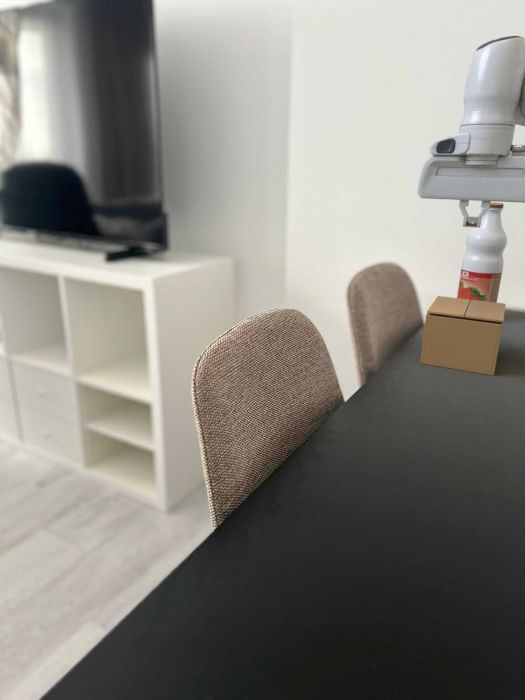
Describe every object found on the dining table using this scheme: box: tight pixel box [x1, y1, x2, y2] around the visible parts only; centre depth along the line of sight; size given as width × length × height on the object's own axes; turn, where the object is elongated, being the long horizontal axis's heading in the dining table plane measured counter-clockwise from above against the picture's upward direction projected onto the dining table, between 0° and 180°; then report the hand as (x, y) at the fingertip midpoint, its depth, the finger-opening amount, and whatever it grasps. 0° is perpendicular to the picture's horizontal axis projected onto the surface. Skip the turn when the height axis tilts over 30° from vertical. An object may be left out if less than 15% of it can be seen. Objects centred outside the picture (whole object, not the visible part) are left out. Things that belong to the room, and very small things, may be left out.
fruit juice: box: [456, 202, 508, 303], centre depth 126 cm, size 9×9×28 cm
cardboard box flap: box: [426, 295, 470, 317], centre depth 99 cm, size 14×6×1 cm, turn 154°
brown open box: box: [419, 300, 506, 377], centre depth 99 cm, size 14×13×10 cm
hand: (471, 226), depth 93 cm, fingers closed
